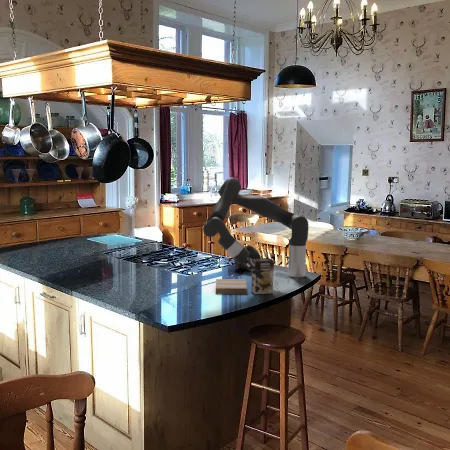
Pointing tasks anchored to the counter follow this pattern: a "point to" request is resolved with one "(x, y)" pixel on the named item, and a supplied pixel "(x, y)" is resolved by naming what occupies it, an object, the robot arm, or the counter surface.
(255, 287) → the coffee box
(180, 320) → the counter surface
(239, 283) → the wooden board
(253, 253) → the squash
